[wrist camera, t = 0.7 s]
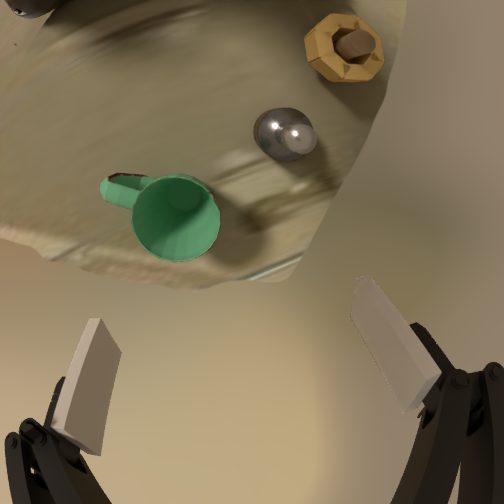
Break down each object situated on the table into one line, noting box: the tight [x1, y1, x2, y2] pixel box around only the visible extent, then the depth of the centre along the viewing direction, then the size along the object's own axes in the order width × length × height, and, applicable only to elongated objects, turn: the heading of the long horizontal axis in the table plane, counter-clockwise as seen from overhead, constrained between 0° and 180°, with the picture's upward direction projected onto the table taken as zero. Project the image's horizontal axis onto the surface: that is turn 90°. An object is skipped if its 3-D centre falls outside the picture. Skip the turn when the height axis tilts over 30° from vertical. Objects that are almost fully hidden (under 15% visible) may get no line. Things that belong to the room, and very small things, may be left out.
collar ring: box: [304, 13, 385, 82], centre depth 24 cm, size 9×9×4 cm
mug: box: [100, 173, 221, 262], centre depth 31 cm, size 15×10×10 cm
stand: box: [332, 29, 376, 64], centre depth 24 cm, size 6×6×10 cm
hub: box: [254, 108, 317, 161], centre depth 29 cm, size 7×7×11 cm
